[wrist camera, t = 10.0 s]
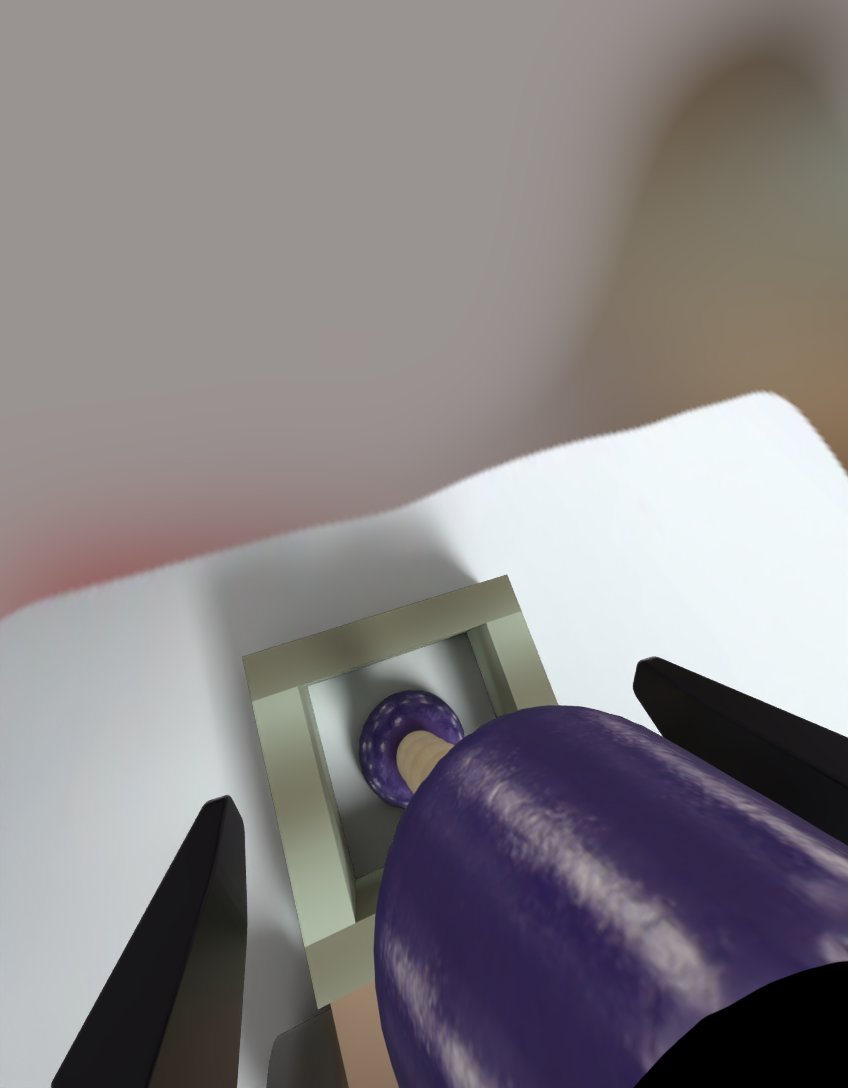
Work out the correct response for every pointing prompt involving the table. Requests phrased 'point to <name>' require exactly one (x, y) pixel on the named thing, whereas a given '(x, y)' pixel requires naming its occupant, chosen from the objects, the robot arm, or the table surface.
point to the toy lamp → (597, 911)
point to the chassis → (314, 822)
